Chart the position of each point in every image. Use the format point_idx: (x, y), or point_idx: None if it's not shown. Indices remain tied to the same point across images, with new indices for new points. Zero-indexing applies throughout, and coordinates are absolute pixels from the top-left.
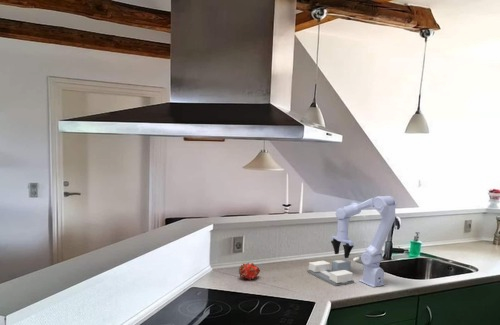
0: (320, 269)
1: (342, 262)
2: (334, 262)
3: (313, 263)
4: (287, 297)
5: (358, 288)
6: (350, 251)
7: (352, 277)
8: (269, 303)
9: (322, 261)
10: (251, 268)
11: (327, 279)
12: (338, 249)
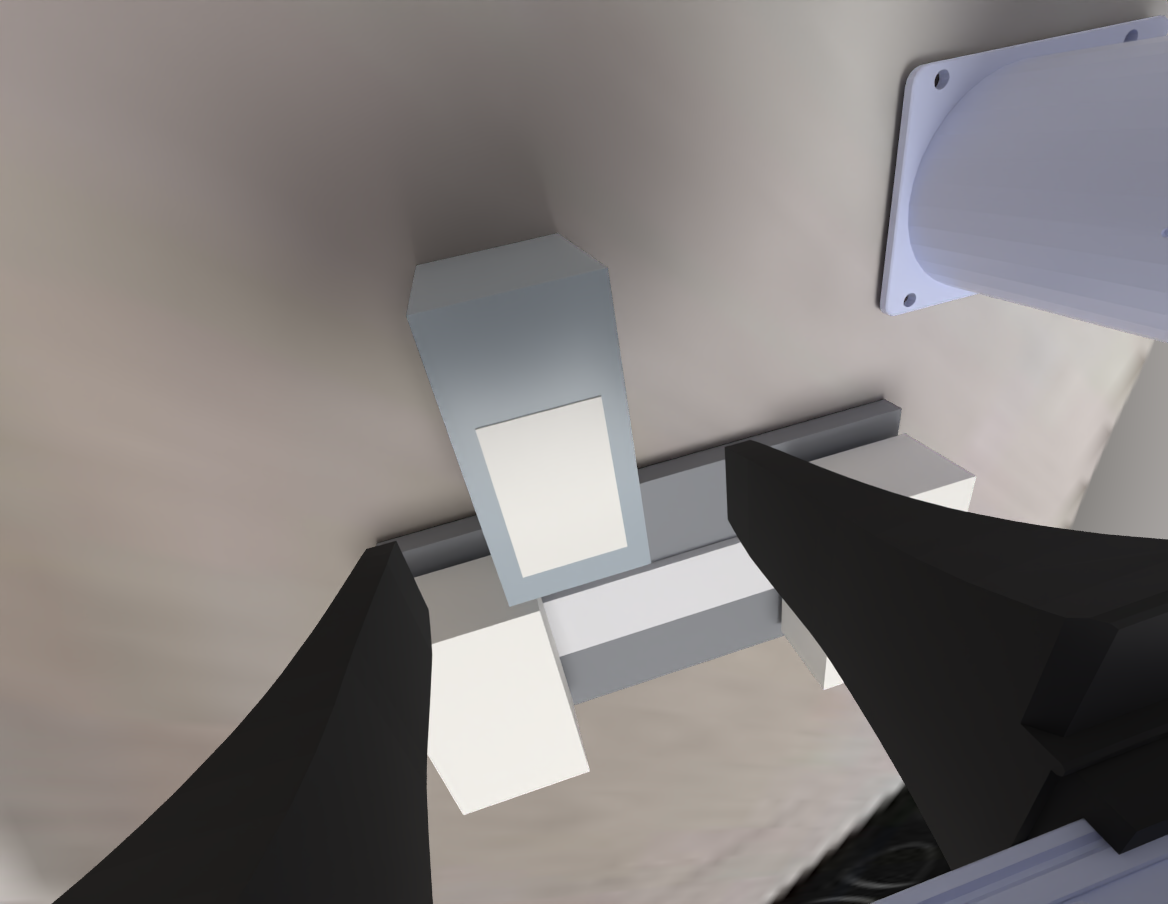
0: (563, 674)
1: (629, 473)
2: (573, 581)
3: (508, 781)
4: (850, 827)
5: (996, 427)
6: (904, 498)
7: (930, 452)
8: (863, 872)
9: None
10: None
11: (759, 634)
12: (380, 636)
